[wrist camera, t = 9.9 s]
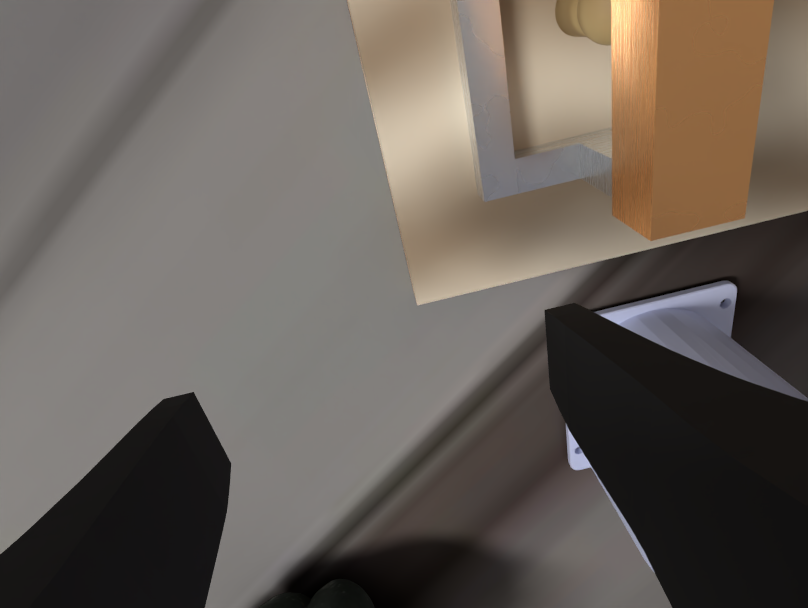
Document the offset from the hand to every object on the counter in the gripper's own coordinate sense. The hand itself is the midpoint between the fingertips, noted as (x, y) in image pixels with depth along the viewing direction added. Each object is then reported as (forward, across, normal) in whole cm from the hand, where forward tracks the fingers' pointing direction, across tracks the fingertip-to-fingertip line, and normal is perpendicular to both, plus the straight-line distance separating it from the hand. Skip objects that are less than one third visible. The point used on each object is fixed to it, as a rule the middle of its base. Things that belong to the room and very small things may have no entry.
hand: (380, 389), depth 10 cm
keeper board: (+10, -9, -6) cm, 15 cm away
